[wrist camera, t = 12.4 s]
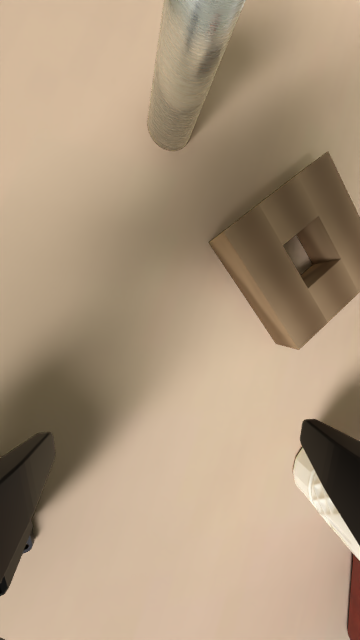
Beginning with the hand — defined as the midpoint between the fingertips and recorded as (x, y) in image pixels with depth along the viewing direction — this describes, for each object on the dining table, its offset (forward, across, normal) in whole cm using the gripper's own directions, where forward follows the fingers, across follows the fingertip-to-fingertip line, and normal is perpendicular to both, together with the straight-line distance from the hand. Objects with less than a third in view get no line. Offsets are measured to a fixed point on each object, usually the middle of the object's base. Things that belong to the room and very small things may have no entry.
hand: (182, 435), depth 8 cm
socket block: (+15, -12, -7) cm, 20 cm away
